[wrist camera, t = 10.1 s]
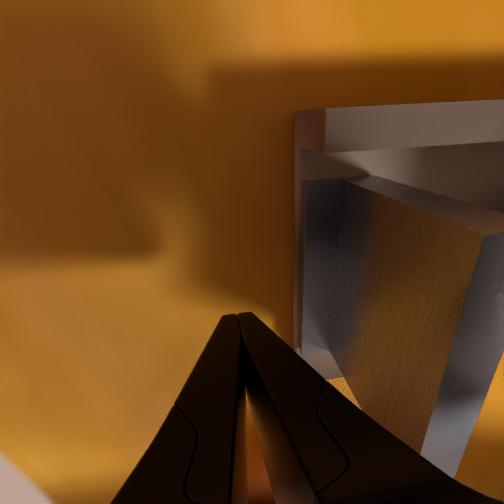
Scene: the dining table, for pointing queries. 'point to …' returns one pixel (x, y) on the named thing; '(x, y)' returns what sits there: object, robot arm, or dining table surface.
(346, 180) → the bookend
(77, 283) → the dining table surface
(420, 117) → the shelf board
